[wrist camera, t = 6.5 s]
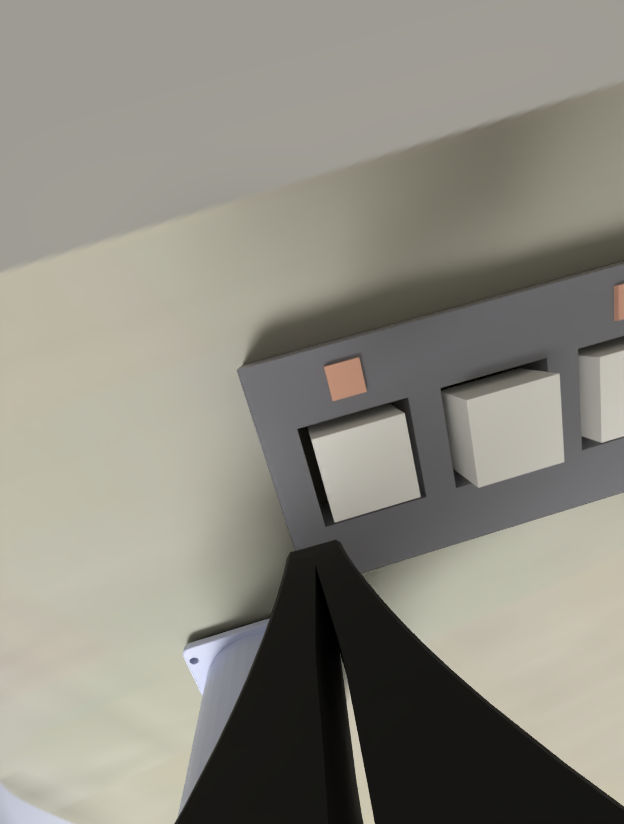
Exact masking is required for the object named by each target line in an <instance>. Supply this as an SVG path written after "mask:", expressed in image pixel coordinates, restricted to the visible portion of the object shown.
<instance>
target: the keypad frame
mask: <svg viewBox="0 0 624 824" xmlns="http://www.w3.org/2000/svg"><path fill="white" fill-rule="evenodd" d="M622 336H624V261H622V262H618V263H615V264H611V265H607V266H604V267H600V268H596V269H593V270H589V271H585V272H582V273H578V274H574V275H571V276H567V277H564V278H560V279H556V280H553V281H549V282H545V283H542V284H538V285H534V286H531V287H527V288H523V289H520V290H516V291H512V292H509V293H505V294H501V295H498V296H494V297H491V298H487V299H483V300H480V301H476V302H472V303H469V304H465V305H461V306H458V307H454V308H450V309H447V310H443V311H439V312H436V313H432V314H428V315H425V316H421V317H417V318H414V319H410V320H407V321H403V322H399V323H396V324H392V325H388V326H385V327H381V328H377V329H374V330H370V331H366V332H363V333H359V334H355V335H352V336H348V337H344V338H341V339H337V340H333V341H330V342H326V343H323V344H319V345H315V346H312V347H308V348H304V349H301V350H297V351H293V352H290V353H286V354H282V355H279V356H275V357H271V358H268V359H264V360H260V361H257V362H253V363H249V364H246V365H242V366H241V367H240V368H239V369H238V370H237V372H238V376H239V379H240V382H241V385H242V388H243V391H244V394H245V397H246V400H247V403H248V406H249V409H250V413H251V416H252V419H253V422H254V425H255V428H256V431H257V434H258V437H259V440H260V443H261V446H262V450H263V453H264V456H265V459H266V462H267V465H268V468H269V471H270V474H271V477H272V480H273V483H274V487H275V490H276V493H277V496H278V499H279V502H280V505H281V508H282V511H283V514H284V517H285V520H286V524H287V527H288V530H289V533H290V536H291V539H292V542H293V545H294V548H295V551H297V550H300V549H304V548H307V547H311V546H315V545H318V544H322V543H325V542H329V541H332V540H338V541H340V542H341V544H342V546H343V548H344V550H345V551H346V553H347V555H348V556H349V558H350V559H351V561H352V562H353V564H354V565H355V566H356V568H357V569H358V571H359V572H360V573H363V572H366V571H370V570H373V569H376V568H379V567H383V566H386V565H389V564H392V563H396V562H399V561H402V560H405V559H409V558H412V557H415V556H418V555H422V554H425V553H428V552H431V551H435V550H438V549H441V548H444V547H448V546H451V545H454V544H458V543H461V542H464V541H467V540H471V539H474V538H477V537H480V536H484V535H487V534H490V533H493V532H497V531H500V530H503V529H506V528H510V527H513V526H516V525H519V524H523V523H526V522H529V521H532V520H536V519H539V518H542V517H545V516H549V515H552V514H555V513H558V512H562V511H565V510H568V509H571V508H575V507H578V506H581V505H584V504H588V503H591V502H594V501H597V500H601V499H604V498H607V497H610V496H614V495H617V494H620V493H623V492H624V436H623V437H619V438H616V439H613V440H609V441H606V442H603V443H601V442H598V441H595V440H592V439H589V438H586V437H583V436H581V413H580V387H579V362H578V349H580V348H583V347H587V346H590V345H594V344H597V343H601V342H604V341H608V340H611V339H615V338H618V337H622ZM513 367H515V369H518V368H522V369H529V370H537V371H544V372H551V373H559V374H560V390H561V408H562V426H563V444H564V462H563V463H559V464H556V465H553V466H549V467H546V468H543V469H539V470H536V471H533V472H530V473H526V474H523V475H520V476H516V477H513V478H510V479H506V480H503V481H500V482H496V483H493V484H490V485H486V486H483V487H480V488H478V487H477V486H475V485H474V484H473V483H471V482H470V481H469V480H467V479H466V478H465V477H463V476H462V475H461V474H459V473H458V472H457V471H455V470H454V469H453V466H452V459H451V453H450V447H449V440H448V434H447V427H446V421H445V415H444V408H443V402H442V396H441V389H440V388H443V387H446V386H450V385H453V384H457V383H460V382H464V381H467V380H471V379H474V378H478V377H481V376H485V375H488V374H492V373H495V372H499V371H502V370H506V369H509V368H513ZM390 402H394V404H395V408H397V409H399V410H400V411H402V412H404V413H405V417H406V423H407V428H408V433H409V438H410V443H411V449H412V454H413V459H414V464H415V470H416V475H417V480H418V485H419V491H420V496H421V497H419V498H415V499H412V500H409V501H405V502H402V503H399V504H395V505H392V506H389V507H385V508H382V509H379V510H375V511H372V512H369V513H365V514H362V515H359V516H355V517H352V518H349V519H345V520H342V521H338V522H334V519H333V516H332V513H331V509H330V506H329V503H328V502H327V503H324V504H319V501H318V497H317V494H316V490H315V487H314V483H313V480H312V476H311V473H310V469H309V466H308V462H307V459H306V455H305V452H304V448H303V445H302V442H301V438H300V435H299V431H298V429H299V428H302V427H306V426H309V425H313V424H316V423H320V422H323V421H327V420H330V419H334V418H337V417H341V416H344V415H348V414H351V413H355V412H358V411H362V410H365V409H369V408H372V407H376V406H379V405H383V404H386V403H390Z"/></svg>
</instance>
